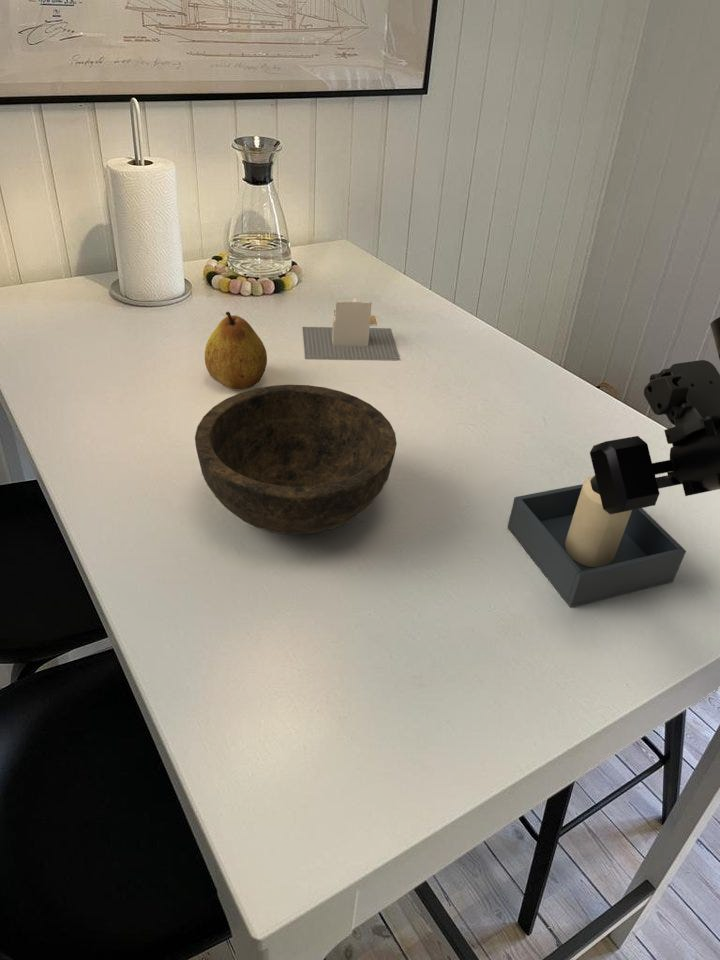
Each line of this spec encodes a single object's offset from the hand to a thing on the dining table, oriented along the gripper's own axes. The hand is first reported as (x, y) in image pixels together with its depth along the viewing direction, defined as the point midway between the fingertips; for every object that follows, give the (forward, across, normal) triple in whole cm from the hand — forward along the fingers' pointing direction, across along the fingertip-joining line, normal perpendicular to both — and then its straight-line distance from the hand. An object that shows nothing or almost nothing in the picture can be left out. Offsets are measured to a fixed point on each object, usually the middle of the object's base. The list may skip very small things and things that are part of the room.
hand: (631, 477), depth 75 cm
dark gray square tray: (+10, 0, +7) cm, 13 cm away
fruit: (+44, +29, -26) cm, 59 cm away
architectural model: (+49, +9, -32) cm, 59 cm away
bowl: (+22, +29, -5) cm, 37 cm away
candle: (+10, 0, +7) cm, 12 cm away
